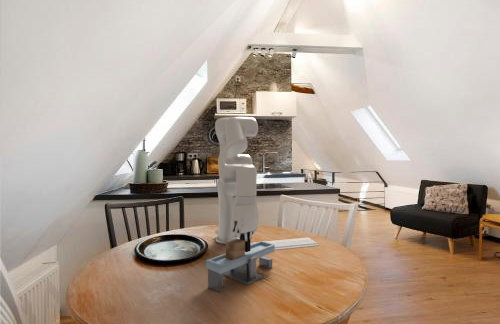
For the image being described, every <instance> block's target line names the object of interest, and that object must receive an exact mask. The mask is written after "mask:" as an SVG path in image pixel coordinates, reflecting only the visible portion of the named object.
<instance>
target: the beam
mask: <svg viewBox="0 0 500 324" xmlns="http://www.w3.org/2000/svg"><path fill="white" fill-rule="evenodd" d="M264 241H265V240H261V241H256V242H257V243H254V244H251V245H250V251H248V252H245V255H244V256H242V257H239V258H236V259H234V260H228V259H226V253H224V254H220V255H218V256H215V257H212V258H209V259H206V260H205V268H206V269H207V270H208V269H209V270H212V271H214V272H217V273H219V274H222V273H224V272H227V271H229V270H231V269H234V268H236V267H239V266H241V265H243V264H246V263H248V262H249V259H250V258H252V257H256V260H257V259H258V260H259V258H260V257H263V256H265V257H266V256H267V255H270V254H272V253H274V252H275V251H276V250H275V245H273V244H271V243H267V242H264Z"/></svg>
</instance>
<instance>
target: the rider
mask: <svg viewBox="0 0 500 324" xmlns="http://www.w3.org/2000/svg"><path fill="white" fill-rule="evenodd" d="M225 254H226V259H228V260H234V259H236V258H239V257H242V256H244V255H245V241H244V240H241V239H237V238H235V239H232V240H228V241H226V244H225Z"/></svg>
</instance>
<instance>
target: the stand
mask: <svg viewBox="0 0 500 324" xmlns="http://www.w3.org/2000/svg"><path fill="white" fill-rule="evenodd" d="M258 265H259V266H260V267H264V268H266V269H271V268H273V258H271V257H268V256H266V255H265V256H263V257H260V258H258ZM224 277H227V278H230V279H232V280H235V281H237V282H239V283H241V284H245V285H247V286H249V285H251V284H253V283H254V282H257V281H258V280H261V279H263V274H261V273H259V272H258V273H257V259H256V257H252V258H250V259H249V262H248V263H246V264H243V265H241V266H239V267H236V268H234V269H231V270H229V271H227V272H224V273H222V274H219V273H217V272H214V271H212V270H209V269H207V288H209V289H211V290H213V291H215V292H218V293H219V292H221V291H223V290H224Z"/></svg>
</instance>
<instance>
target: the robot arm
mask: <svg viewBox="0 0 500 324" xmlns="http://www.w3.org/2000/svg"><path fill="white" fill-rule="evenodd" d="M214 129H215V134H216V137H217V140H218V143H219V155H218V158H217V159H218V161H217V166H218V176H219V178H218V180H217V182H216V188H217V194H218V195H217V196H218V228H217V229H216V230H215V231H214V234H216V235H217V236H216V237H215V242H216V243H218V244H222V245H226V241H228V240H232V239H235V238H237V239H241V240H244V241H245V252H248V251H250V242H251V240H252V238H253V235H254V234H255V233H257V231H258V230H257V229H258V228H259V210H258V209H259V208H258V204H257V198H258V197H257V177H258V174H257V172H258V171H257V168H256V166H255V165H254V164H253V159H252V156H251V155H249V154H248V153H247V154H246V153H244V152H245V151H246V150H247V149H248V145H249V143H248V139H247V137H251V138H254V137H256V136H257V134H258V133H259V125H258V122H257V120H256V118H255V117H249V116H231V117H220V118H217V119H216V120H215V124H214Z"/></svg>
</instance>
